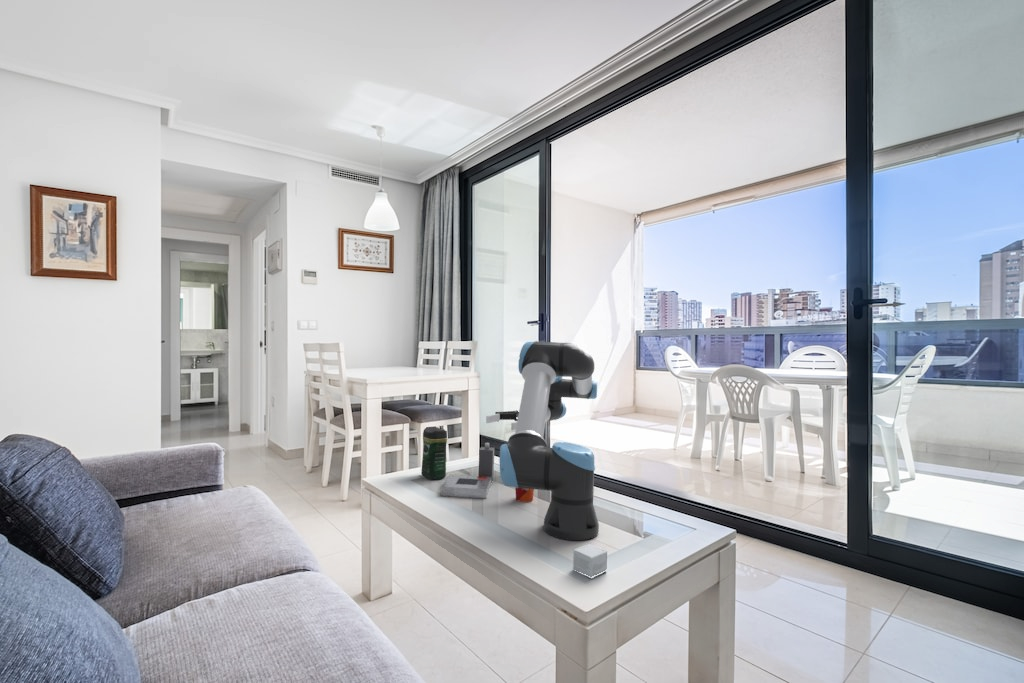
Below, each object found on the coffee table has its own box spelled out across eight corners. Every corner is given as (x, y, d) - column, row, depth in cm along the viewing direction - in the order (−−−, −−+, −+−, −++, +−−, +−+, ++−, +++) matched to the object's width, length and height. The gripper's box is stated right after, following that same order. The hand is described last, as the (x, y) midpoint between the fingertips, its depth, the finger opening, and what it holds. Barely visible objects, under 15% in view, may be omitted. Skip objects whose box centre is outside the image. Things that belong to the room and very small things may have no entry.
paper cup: (528, 504, 154) (530, 460, 154) (508, 500, 158) (509, 457, 158) (540, 498, 160) (541, 456, 161) (520, 494, 165) (521, 452, 165)
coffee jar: (449, 478, 180) (450, 428, 180) (429, 481, 175) (431, 430, 175) (437, 472, 188) (439, 424, 188) (418, 474, 183) (420, 425, 183)
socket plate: (486, 498, 159) (486, 488, 159) (440, 495, 160) (441, 485, 160) (491, 485, 174) (491, 475, 174) (449, 482, 175) (450, 473, 175)
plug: (491, 483, 176) (493, 445, 176) (478, 482, 176) (479, 444, 176) (493, 479, 180) (494, 442, 181) (480, 479, 181) (481, 441, 181)
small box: (588, 563, 114) (588, 542, 114) (607, 573, 110) (608, 551, 110) (571, 570, 110) (572, 548, 110) (591, 580, 106) (591, 558, 106)
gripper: (560, 429, 188) (523, 439, 173) (514, 418, 206) (477, 426, 191) (561, 410, 188) (523, 419, 173) (515, 400, 205) (477, 407, 190)
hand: (499, 423), depth 182 cm, fingers open, 13 cm apart
